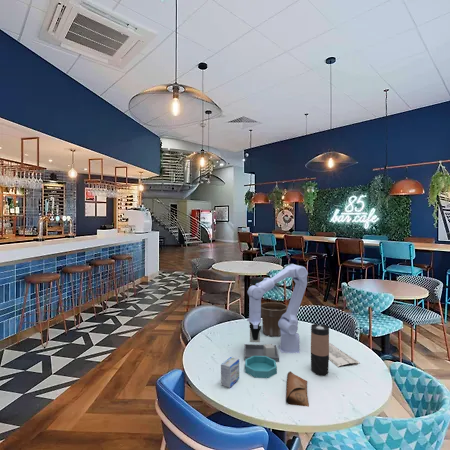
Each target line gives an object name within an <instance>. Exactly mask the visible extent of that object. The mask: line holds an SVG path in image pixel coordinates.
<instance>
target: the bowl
mask: <svg viewBox="0 0 450 450" xmlns="http://www.w3.org/2000/svg"><path fill="white" fill-rule="evenodd" d="M244 362H245V364H244V369H245V371H244V372H245V373H246V374H248V375H249V376H251V377H253V378H256V379H257V378H258V379H270V378H271V377H274V376H275V375H277V373H278V372H277V371H278V367H277V362H276V361H275V360H273V359H271V358H269V357H267V356H252V357H250V358H247V359H245V358H244Z"/></svg>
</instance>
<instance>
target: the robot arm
mask: <svg viewBox="0 0 450 450" xmlns="http://www.w3.org/2000/svg"><path fill="white" fill-rule="evenodd" d="M308 274H309V272H308V270H307V269H306V267H305V266H303V265H298V264H294V263H290V264H289V265H287V266H285V267H284V268H283V269H282V270H281V271H279V272H278V273H276V274H275V275H273V276H271V277H264V278H263V280H262V281H259V282H256V283H255V285H253V284H252V285H250V286H249V287H248V290H246V291H247V292H246V293H247V295H248V299H249V303H248V305H249V306H248V307H249V309H248V310H249V311H248V312H249V313H248V315H249V317H248V318H246V321H247V322H249V327H248V328H249V330H250V329H251V332H252V337H253V340H258V335H259V331H260V332H261V329H262V326H261V323H262V313H261V304H262V298H263V297H264V294H266V293H267V292H269V291H271V290H272V289H273V288H275V284H278V283H280V282H281V281H283V280H285V279H287V278H292V279H293V281H294V283H295V285H294V288H293V291H292V294H291V296H290V300H289V302H288V305H287V311H286V313H284V314H283V315H282V317H281V318H280V320H279V322H278V326H279V328H280V331H281V336H279V337H280V345H278V348H279V351H280V353H281V354H284V353H285V354H301V353H300V343H301V342H300V334H299V332H298V329H299V326H298V324H299V320H298V317H297V316H298V313H299V310H300V307H301V304H302V302H303V298H304V295H305V292H306V288H307V286H308Z"/></svg>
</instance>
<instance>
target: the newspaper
mask: <svg viewBox="0 0 450 450" xmlns="http://www.w3.org/2000/svg"><path fill="white" fill-rule="evenodd" d="M329 362H331V363H332V364H333V365H335V366H336V367H337V368H339V367H340V366H344V365H349V364H352V365H354V366H357V365H359V363H360V362H359V361H358V360H356V359H355V358H354V357H352V356H350V355H349V354H348V353H346V352H344V351H342V350H341V349H339V348H338V347H337V346H335V345H333V343H331V342H329ZM360 364H361V363H360Z"/></svg>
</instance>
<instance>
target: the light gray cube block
mask: <svg viewBox="0 0 450 450" xmlns="http://www.w3.org/2000/svg"><path fill="white" fill-rule="evenodd" d="M263 345H264V355H265V356H267V357H274V356H275V347H274V346H273V345H274V344H273V343H269V344H268V343H267V344H263Z"/></svg>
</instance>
